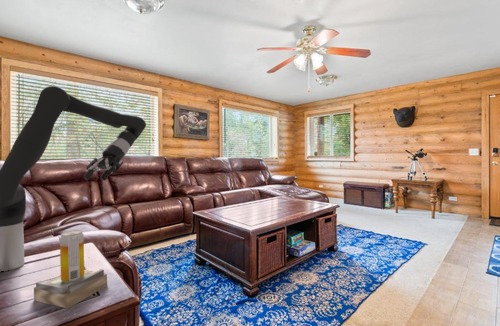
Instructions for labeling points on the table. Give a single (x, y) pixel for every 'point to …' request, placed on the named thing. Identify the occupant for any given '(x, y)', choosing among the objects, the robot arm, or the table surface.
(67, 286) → the square tray
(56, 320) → the table surface
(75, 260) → the beer can
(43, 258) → the table surface
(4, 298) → the table surface
